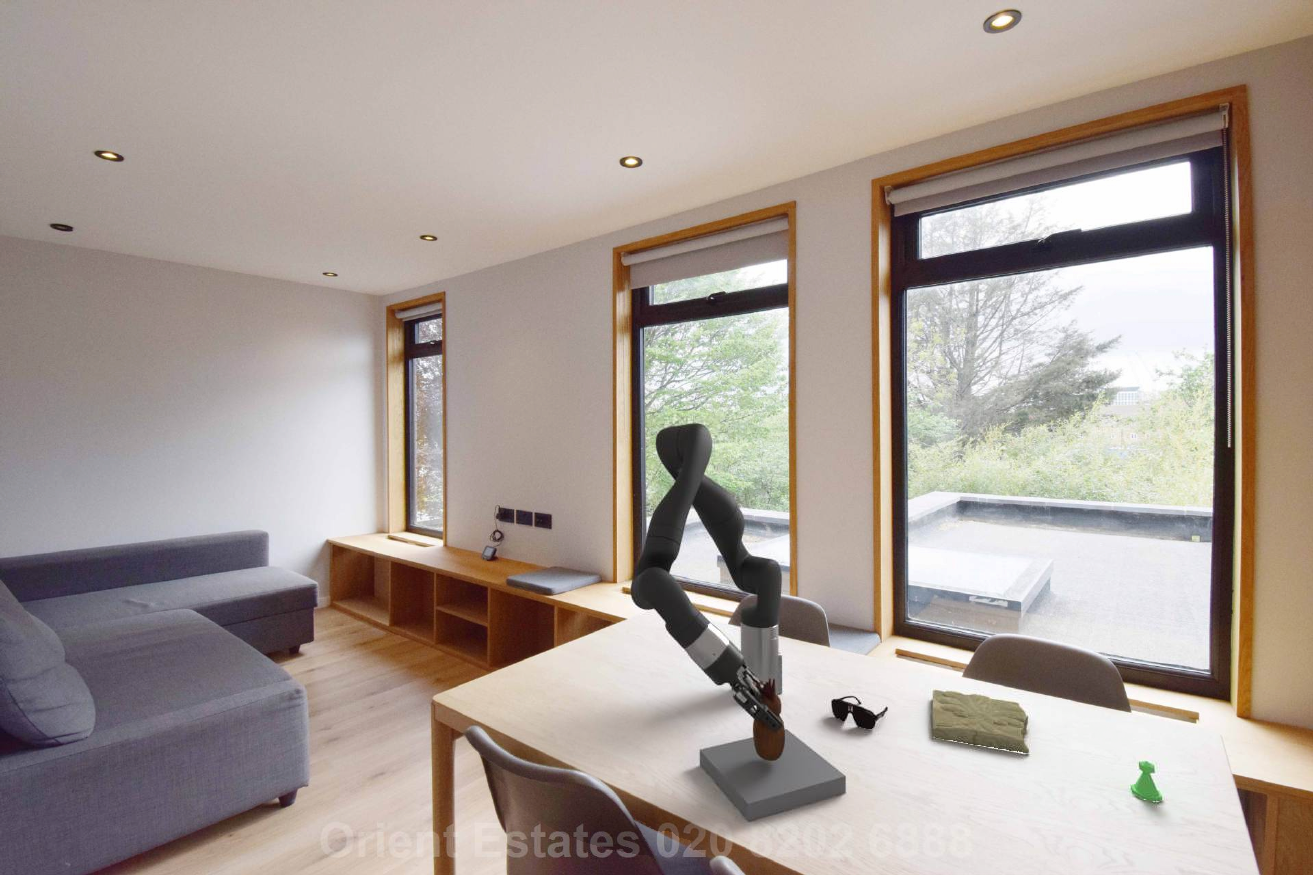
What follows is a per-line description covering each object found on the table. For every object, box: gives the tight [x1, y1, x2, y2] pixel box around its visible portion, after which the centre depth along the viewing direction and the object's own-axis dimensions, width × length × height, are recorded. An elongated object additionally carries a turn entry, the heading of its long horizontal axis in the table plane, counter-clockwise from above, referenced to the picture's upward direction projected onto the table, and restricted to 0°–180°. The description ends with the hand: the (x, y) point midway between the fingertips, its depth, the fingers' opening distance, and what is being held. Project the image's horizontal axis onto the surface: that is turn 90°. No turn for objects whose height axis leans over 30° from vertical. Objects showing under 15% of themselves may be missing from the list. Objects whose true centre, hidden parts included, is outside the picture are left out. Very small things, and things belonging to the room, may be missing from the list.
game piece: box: [1130, 760, 1163, 803], centre depth 104 cm, size 4×4×6 cm
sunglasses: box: [830, 695, 889, 730], centre depth 133 cm, size 11×12×5 cm
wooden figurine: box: [752, 678, 786, 761], centre depth 109 cm, size 7×6×15 cm
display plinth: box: [699, 728, 847, 823], centre depth 109 cm, size 20×18×3 cm
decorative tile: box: [931, 689, 1030, 754], centre depth 128 cm, size 19×20×4 cm
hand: (777, 718), depth 109 cm, fingers closed on wooden figurine, 6 cm apart
